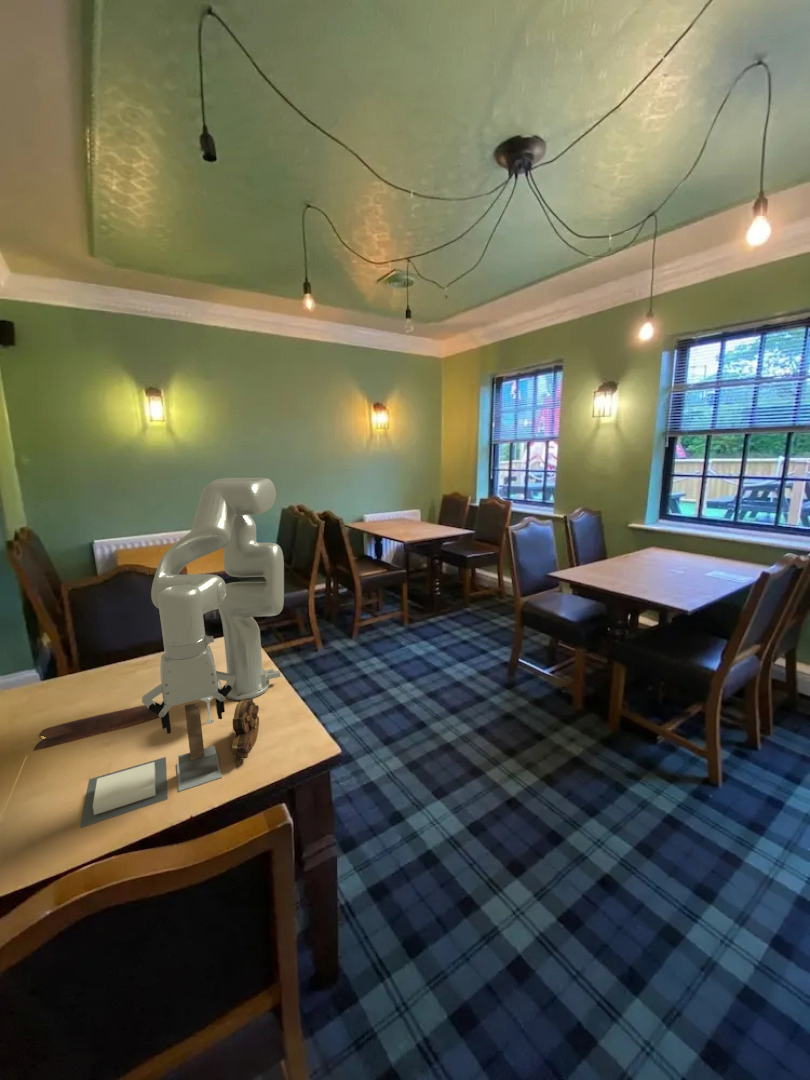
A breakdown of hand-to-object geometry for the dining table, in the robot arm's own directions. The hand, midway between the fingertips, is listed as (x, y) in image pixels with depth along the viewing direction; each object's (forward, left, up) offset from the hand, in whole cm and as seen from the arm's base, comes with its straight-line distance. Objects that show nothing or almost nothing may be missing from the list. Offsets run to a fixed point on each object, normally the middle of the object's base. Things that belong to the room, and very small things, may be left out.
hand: (194, 722), depth 93 cm
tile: (+13, -4, -10) cm, 17 cm away
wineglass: (-4, -17, -12) cm, 21 cm away
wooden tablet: (+20, -30, -12) cm, 38 cm away
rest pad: (0, +1, -12) cm, 12 cm away
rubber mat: (+13, -1, -12) cm, 18 cm away
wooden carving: (-11, -4, -12) cm, 17 cm away
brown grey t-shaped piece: (0, +1, -11) cm, 11 cm away
